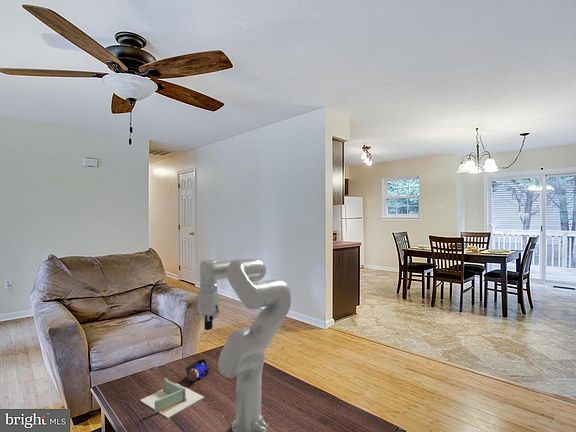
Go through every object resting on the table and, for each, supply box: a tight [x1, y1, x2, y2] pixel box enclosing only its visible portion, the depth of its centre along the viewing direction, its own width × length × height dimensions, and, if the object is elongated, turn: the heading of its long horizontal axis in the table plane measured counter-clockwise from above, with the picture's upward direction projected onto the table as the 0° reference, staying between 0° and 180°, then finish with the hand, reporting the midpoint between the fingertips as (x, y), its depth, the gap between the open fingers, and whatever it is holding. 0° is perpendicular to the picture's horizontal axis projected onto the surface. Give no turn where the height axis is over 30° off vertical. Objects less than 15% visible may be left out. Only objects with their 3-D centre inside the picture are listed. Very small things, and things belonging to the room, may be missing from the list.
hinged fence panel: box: [154, 388, 186, 414], centre depth 136 cm, size 13×2×4 cm, turn 138°
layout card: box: [139, 382, 205, 419], centre depth 142 cm, size 20×18×1 cm
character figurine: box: [185, 358, 212, 383], centre depth 161 cm, size 8×7×15 cm
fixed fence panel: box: [162, 377, 183, 394], centre depth 145 cm, size 13×2×5 cm, turn 54°
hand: (208, 329), depth 146 cm, fingers closed
